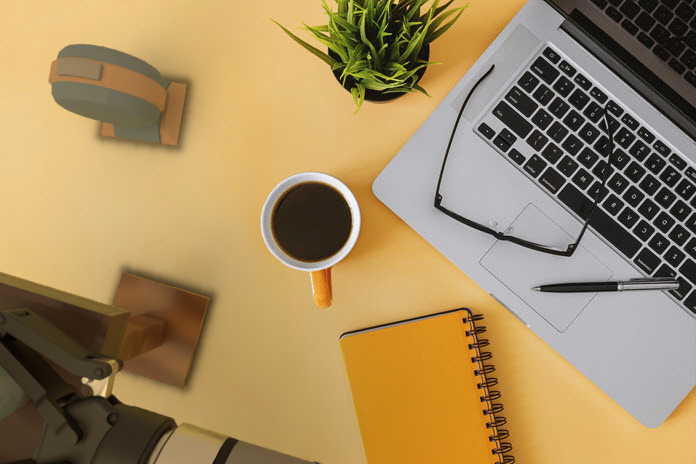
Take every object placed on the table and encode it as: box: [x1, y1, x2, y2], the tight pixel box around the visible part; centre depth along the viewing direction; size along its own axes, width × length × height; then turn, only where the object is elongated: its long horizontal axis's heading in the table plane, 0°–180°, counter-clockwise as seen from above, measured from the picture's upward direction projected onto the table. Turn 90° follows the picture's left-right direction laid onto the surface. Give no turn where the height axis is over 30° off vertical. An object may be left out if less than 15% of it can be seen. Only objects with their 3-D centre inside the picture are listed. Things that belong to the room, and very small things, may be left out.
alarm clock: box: [48, 43, 188, 147], centre depth 67 cm, size 14×10×18 cm
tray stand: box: [112, 272, 211, 389], centre depth 60 cm, size 14×14×29 cm
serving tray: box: [0, 271, 131, 464], centre depth 44 cm, size 18×18×4 cm
